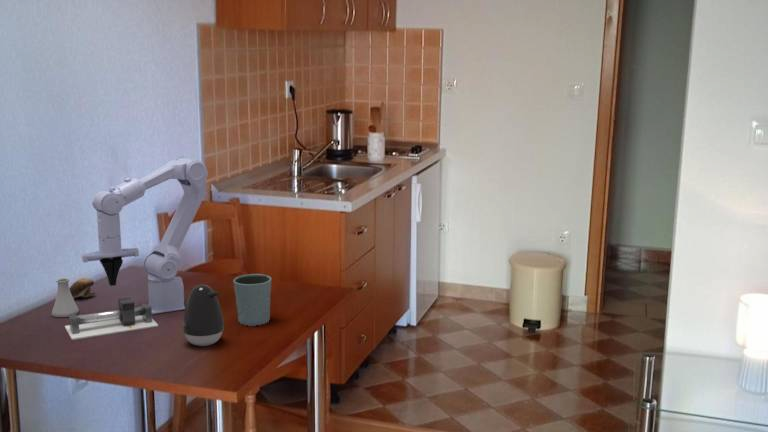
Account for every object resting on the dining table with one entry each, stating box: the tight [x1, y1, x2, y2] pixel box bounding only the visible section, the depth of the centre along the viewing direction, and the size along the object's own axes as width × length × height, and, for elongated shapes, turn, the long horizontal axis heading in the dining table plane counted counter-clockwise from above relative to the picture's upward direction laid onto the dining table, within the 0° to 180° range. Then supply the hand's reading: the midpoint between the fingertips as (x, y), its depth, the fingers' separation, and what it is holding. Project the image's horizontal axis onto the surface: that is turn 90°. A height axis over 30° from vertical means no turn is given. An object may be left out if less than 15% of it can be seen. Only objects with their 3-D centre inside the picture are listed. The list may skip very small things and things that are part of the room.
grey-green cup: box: [232, 273, 272, 327], centre depth 227 cm, size 10×10×12 cm
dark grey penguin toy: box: [182, 284, 225, 347], centre depth 210 cm, size 10×10×15 cm
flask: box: [50, 277, 80, 318], centre depth 231 cm, size 7×7×10 cm
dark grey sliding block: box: [117, 297, 135, 325], centre depth 224 cm, size 3×5×6 cm, turn 30°
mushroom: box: [69, 278, 96, 299], centre depth 247 cm, size 8×8×6 cm
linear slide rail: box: [68, 303, 153, 334], centre depth 222 cm, size 20×4×4 cm, turn 120°
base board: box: [64, 316, 159, 341], centre depth 222 cm, size 22×11×1 cm, turn 120°
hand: (112, 284), depth 226 cm, fingers closed
